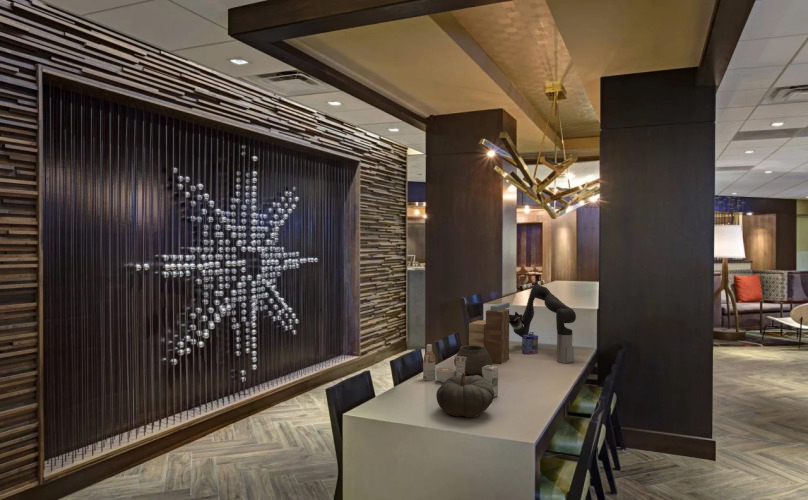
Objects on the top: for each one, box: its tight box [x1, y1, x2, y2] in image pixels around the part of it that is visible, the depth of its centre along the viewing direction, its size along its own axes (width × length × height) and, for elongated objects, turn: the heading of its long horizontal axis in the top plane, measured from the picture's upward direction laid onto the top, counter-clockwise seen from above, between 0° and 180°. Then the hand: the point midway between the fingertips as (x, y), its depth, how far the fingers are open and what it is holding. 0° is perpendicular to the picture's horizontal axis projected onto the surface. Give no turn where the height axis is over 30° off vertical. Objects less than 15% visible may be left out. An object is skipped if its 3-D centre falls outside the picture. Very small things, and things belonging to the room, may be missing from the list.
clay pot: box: [453, 344, 493, 376], centre depth 305 cm, size 22×21×15 cm
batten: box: [490, 301, 510, 312], centre depth 344 cm, size 26×4×3 cm, turn 152°
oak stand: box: [468, 319, 486, 348], centre depth 355 cm, size 18×10×22 cm, turn 152°
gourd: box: [436, 373, 495, 418], centre depth 234 cm, size 25×25×17 cm
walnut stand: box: [485, 308, 510, 365], centre depth 340 cm, size 16×10×32 cm, turn 152°
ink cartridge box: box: [521, 331, 539, 355], centre depth 364 cm, size 10×6×14 cm, turn 115°
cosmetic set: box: [422, 343, 467, 384], centre depth 288 cm, size 25×9×19 cm, turn 61°
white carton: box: [481, 364, 499, 398], centre depth 260 cm, size 6×6×14 cm
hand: (509, 312), depth 361 cm, fingers open, 8 cm apart
